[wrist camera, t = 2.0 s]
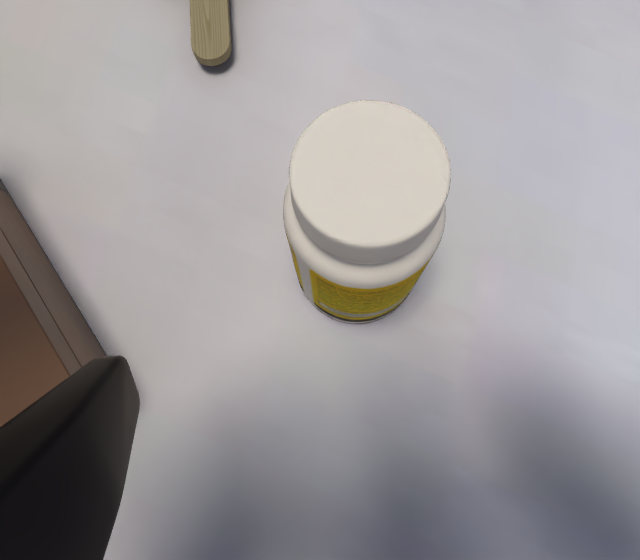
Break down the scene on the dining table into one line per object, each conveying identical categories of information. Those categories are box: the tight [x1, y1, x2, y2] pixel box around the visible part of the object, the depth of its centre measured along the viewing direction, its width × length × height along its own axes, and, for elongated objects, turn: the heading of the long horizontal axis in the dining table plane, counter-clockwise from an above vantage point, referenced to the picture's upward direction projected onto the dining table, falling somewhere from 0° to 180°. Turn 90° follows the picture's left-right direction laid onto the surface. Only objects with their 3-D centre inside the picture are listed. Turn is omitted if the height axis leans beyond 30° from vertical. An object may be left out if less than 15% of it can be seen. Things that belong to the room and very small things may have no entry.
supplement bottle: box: [283, 100, 451, 323], centre depth 16 cm, size 5×5×8 cm
